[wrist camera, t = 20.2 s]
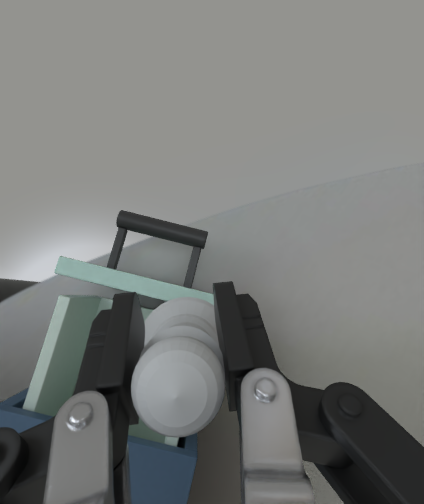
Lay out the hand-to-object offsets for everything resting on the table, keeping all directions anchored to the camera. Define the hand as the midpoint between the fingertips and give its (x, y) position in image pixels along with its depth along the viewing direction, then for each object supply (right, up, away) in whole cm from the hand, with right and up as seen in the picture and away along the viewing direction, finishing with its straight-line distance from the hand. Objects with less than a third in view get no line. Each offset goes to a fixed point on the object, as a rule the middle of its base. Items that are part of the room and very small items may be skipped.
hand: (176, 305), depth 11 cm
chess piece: (0, -3, +4) cm, 5 cm away
